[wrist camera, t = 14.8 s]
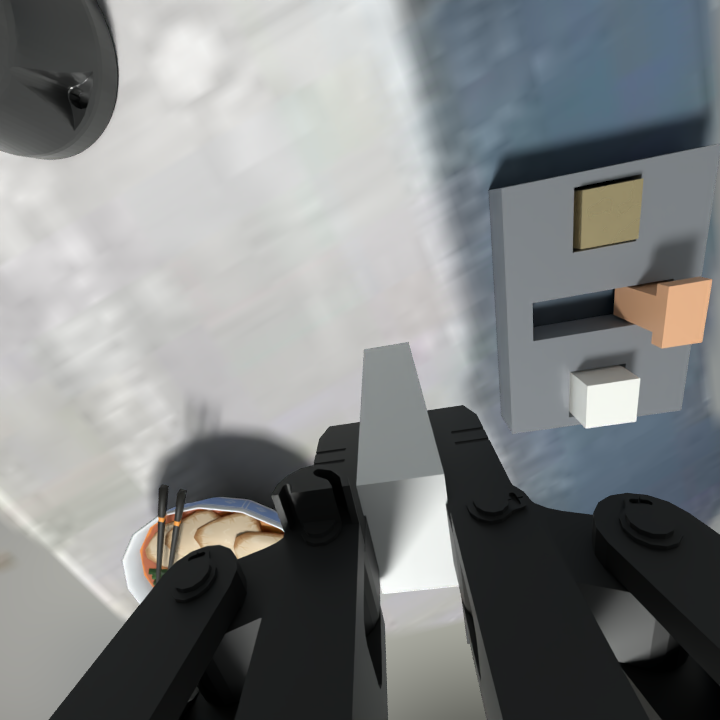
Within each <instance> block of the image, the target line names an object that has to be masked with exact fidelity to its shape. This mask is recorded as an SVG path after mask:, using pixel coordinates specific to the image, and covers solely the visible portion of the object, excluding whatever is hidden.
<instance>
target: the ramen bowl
mask: <svg viewBox="0 0 720 720" xmlns="http://www.w3.org/2000/svg"><path fill="white" fill-rule="evenodd" d="M168 487H169V486H167V485H162V486H161V487H160V488H159V504H158V516H157V517H156V518H154V519H153V520H152V521H150V522H149V523H147V524H146V525H145V526H143V527H142V528H141V529H139V530H138V531H137V532H135V533H134V534H133V535H132V537H131V539H130V542H129V544H128V547H127V549H126V551H125V554H124V556H123V558H122V565H123V570H124V575H125V580H126V584H127V589H128V590H129V591H130V593H131V594H132V595H133V597H134V598H135V599H136V601H137V602H138V603H139V605H140V604H141V602H142V601H143V600H144V599H145V597H146V596H147V595H148V594H149V592H150V591H151V590H152V588H153V587H154V586H155V585H156V583H157V582H158V581H159V580H160V578H161V577H162V576H163V575H164V574H165V573H166V572H167V571H168V570H169V569H170V568H171V567H172V566H173V565H174V563H175V562H177V561H178V560H180V559H181V558H183V557H184V556H186V555H187V554H189V553H190V552H192V551H195V550H197V549H200V548H202V547H205V546H212V545H222V546H225V547H228V548H230V549H231V550H232V551H233V553H234V554H235V556H236V557H237V559H239V558H242V557H244V556H247V555H249V554H252V553H254V552H257V551H259V550H262V549H264V548H266V547H268V546H270V545H272V544H274V543H276V542H278V541H279V540H281V539H282V538H283V536H284V531H283V528H282V525H281V522H280V519H279V517H278V514H277V511H275V510H273V509H271V508H268V507H266V506H264V505H261V504H259V503H257V502H254V501H252V500H248V499H238V498H228V497H215V498H210V499H205V500H201V501H196V502H191V503H187V504H184V503H185V498H186V492H187V490H183V489H180V491H179V492H178V494H177V501H176V507H174V508H171V509H169V510H167V499H168Z"/></svg>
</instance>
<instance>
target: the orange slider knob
mask: <svg viewBox="0 0 720 720" xmlns="http://www.w3.org/2000/svg"><path fill="white" fill-rule="evenodd" d="M711 284H712V279H708V278H703V277H694V278H688V279H682V280H676V281H670V282H666V281H657V282H651V283H645V284H639V285H634V286H628V287H622V288H616V289H615V297H614V313H613V315H615V316H617V317H620V318H622V319H624V320H626V321H629V322H631V323H633V324H635V325H638V326H640V327H642V328H644V329H647V330H649V331H651V332H652V340H651V344H653V345H655V346H657V347H659V348H661V349H662V348H669V347H675V346H681V345H688V344H694V343H701V342H702V340H703V333H704V327H705V321H706V315H707V309H708V303H709V297H710V290H711Z"/></svg>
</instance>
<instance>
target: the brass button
mask: <svg viewBox="0 0 720 720" xmlns="http://www.w3.org/2000/svg"><path fill="white" fill-rule="evenodd" d="M643 180H644V178H642V179H633V180H623V181H614V182H608V183H603V184H598V185H593V186H588V187H583V188H578V189H574V216H573V248H577V249H585V248H591V247H596V246H601V245H607V244H612V243H618V242H623V241H628V240H634V239H638V238H639V226H640V215H641V203H642V191H643Z"/></svg>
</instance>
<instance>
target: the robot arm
mask: <svg viewBox="0 0 720 720" xmlns="http://www.w3.org/2000/svg"><path fill="white" fill-rule="evenodd" d="M116 93H117V64H116V57H115V52H114V47H113V43H112V39H111V36H110V32H109V29H108V27H107V24H106V21H105V19H104V17H103V14H102V12H101V10H100V8H99V6H98V4H97V2H96V0H0V151H3V152H6V153H9V154H13V155H18V156H24V157H31V158H38V159H47V160H55V159H63V158H68V157H71V156H74V155H76V154H79V153H81V152H82V151H84V150H86V149H87V148H89V147H90V146H91V145H92V144H93V143H94V142H95V141H96V140H97V139H98V138H99V137H100V136H101V134H102V133H103V131H104V130H105V128H106V126H107V124H108V122H109V120H110V118H111V115H112V112H113V109H114V105H115V100H116ZM316 453H317V455H316V456H315V460H314V465H313V466H309V467H305V468H301V469H299V470H298V471H296V472H294V473H292V474H290V475H288V476H287V477H286V478H285V479H284V480H283V481H281V482H280V483H279V484H278V485H277V487H276V488H275V490H274V492H273V494H272V495H271V497H272V500H273V503H274V505H275V508H276V511H277V514H278V517H279V519H280V522H281V525H282V528H283V531H284V536H283V538H282V539H281V540H279V541H278V542H276V543H274V544H272V545H270V546H268V547H266V548H264V549H262V550H259V551H257V552H254V553H252V554H249V555H247V556H244V557H242V558H239V559H237V557H236V556H235V554H234V553H233V551H232V550H231V549H230V548H228V547H225V546H222V545H212V546H205V547H202V548H200V549H197V550H195V551H192V552H190V553H189V554H187V555H186V556H184V557H183V558H181V559H180V560H178V561H177V562H175V563H174V565H173V566H172V567H171V568H170V569H169V570H168V571H167V572H166V573H165V574H164V575H163V576H162V577H161V578H160V580H159V581H158V582H157V583H156V585H155V586H154V587H153V588H152V590H151V591H150V592H149V594H148V595H147V596H146V597H145V599H144V600H143V601H142V602H141V604H140V605H139V606H138V607H137V609H136V610H135V611H134V612H133V614H132V615H131V616H130V618H129V619H128V620H127V621H126V623H125V624H124V625H123V626H122V628H121V629H120V630H119V631H118V633H117V634H116V635H115V637H114V638H113V639H112V640H111V642H110V643H109V644H108V645H107V647H106V648H105V649H104V650H103V652H102V653H101V654H100V656H99V657H98V658H97V659H96V661H95V662H94V663H93V664H92V666H91V667H90V668H89V669H88V671H87V672H86V673H85V674H84V676H83V677H82V678H81V680H80V681H79V682H78V683H77V685H76V686H75V687H74V689H73V690H72V691H71V692H70V694H69V695H68V696H67V697H66V699H65V700H64V701H63V702H62V704H61V705H60V706H59V707H58V709H57V710H56V711H55V712H54V714H53V715H52V716H51V717H50V719H49V720H388V708H387V707H388V706H387V677H386V647H385V623H384V619H383V615H382V610H381V606H380V585H381V589H382V593H383V594H387V593H397V592H407V591H416V590H426V589H436V588H446V587H456V586H459V589H460V593H461V598H462V606H463V613H464V621H465V629H466V636H467V643H468V644H470V646H471V650H472V655H473V660H474V664H475V668H476V673H477V677H478V682H479V687H480V691H481V696H482V700H483V705H484V709H485V714H486V718H487V720H720V534H718V533H717V532H715V531H714V530H713V529H711V528H710V527H708V526H707V525H705V524H704V523H703V522H701V521H700V520H698V519H697V518H695V517H694V516H693V515H691V514H690V513H688V512H686V511H684V510H683V509H681V508H679V507H677V506H675V505H673V504H672V503H670V502H668V501H664V500H661V499H658V498H655V497H652V496H649V495H642V494H632V493H624V494H617V495H610V496H608V497H607V498H605V499H603V500H602V501H600V502H598V504H597V506H596V509H595V511H594V513H593V515H589V514H582V513H574V512H566V511H559V510H554V509H550V508H546V507H543V506H541V505H538V504H535V503H534V502H532V501H531V500H530V499H529V497H528V496H527V495H526V494H525V493H524V492H523V491H522V490H520V489H518V488H517V487H515V486H513V485H512V484H511V482H510V480H509V478H508V476H507V474H506V472H505V470H504V468H503V466H502V464H501V462H500V460H499V458H498V456H497V454H496V452H495V450H494V448H493V446H492V444H491V442H490V440H488V436H487V434H486V432H485V430H483V426H482V424H481V422H480V420H479V418H478V416H477V414H475V413H474V412H472V411H471V410H469V409H468V408H466V407H465V406H463V405H461V406H454V407H448V408H441V409H434V410H428V411H427V409H426V405H425V401H424V398H423V394H422V390H421V386H420V383H419V379H418V375H417V372H416V368H415V364H414V361H413V357H412V353H411V349H410V346H409V342H406V343H400V344H394V345H388V346H382V347H376V348H370V349H365V350H364V358H363V375H362V393H361V411H360V422H357V423H350V424H343V425H337V426H330V427H329V428H328V429H327V430H326V431H325V433H324V434H323V435H322V436H321V438H320V439H319V443H318V447H317V451H316Z"/></svg>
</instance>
